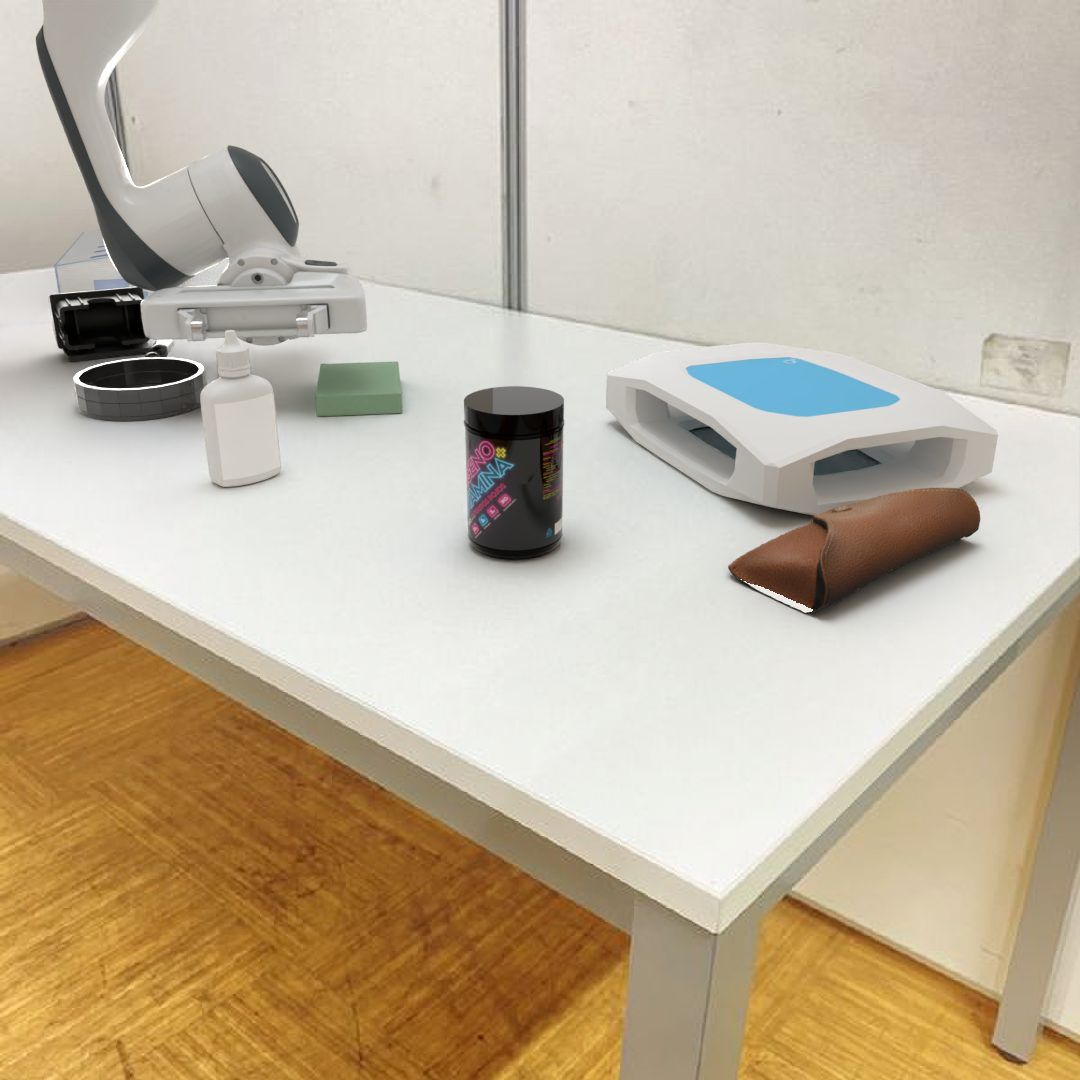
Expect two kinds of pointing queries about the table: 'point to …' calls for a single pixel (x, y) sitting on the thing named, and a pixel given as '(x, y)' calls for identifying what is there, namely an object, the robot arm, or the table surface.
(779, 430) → the white step platform
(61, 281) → the warehouse
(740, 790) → the table surface
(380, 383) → the block
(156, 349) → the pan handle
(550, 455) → the supplement container
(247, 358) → the eye dropper bottle
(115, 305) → the end cap
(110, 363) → the pan
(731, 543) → the table surface
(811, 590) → the sunglasses case
